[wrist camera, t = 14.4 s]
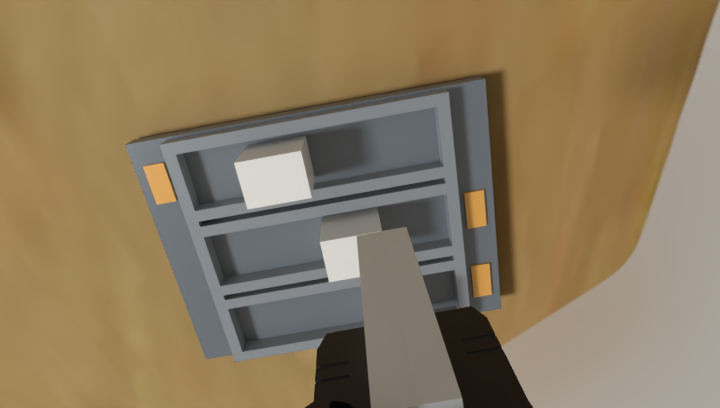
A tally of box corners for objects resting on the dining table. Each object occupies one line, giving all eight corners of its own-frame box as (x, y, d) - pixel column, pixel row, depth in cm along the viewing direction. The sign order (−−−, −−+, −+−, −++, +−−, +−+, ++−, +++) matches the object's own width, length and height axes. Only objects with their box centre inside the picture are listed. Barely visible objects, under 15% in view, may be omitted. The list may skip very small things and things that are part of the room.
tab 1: (246, 145, 30) (233, 163, 27) (305, 135, 30) (301, 150, 26) (258, 187, 31) (247, 209, 28) (315, 177, 31) (311, 198, 28)
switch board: (134, 139, 31) (117, 149, 29) (478, 76, 31) (491, 80, 28) (211, 346, 38) (202, 369, 36) (495, 298, 37) (506, 317, 35)
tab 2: (322, 216, 32) (319, 242, 29) (377, 207, 32) (382, 231, 29) (330, 253, 34) (329, 282, 30) (383, 244, 33) (389, 271, 30)
